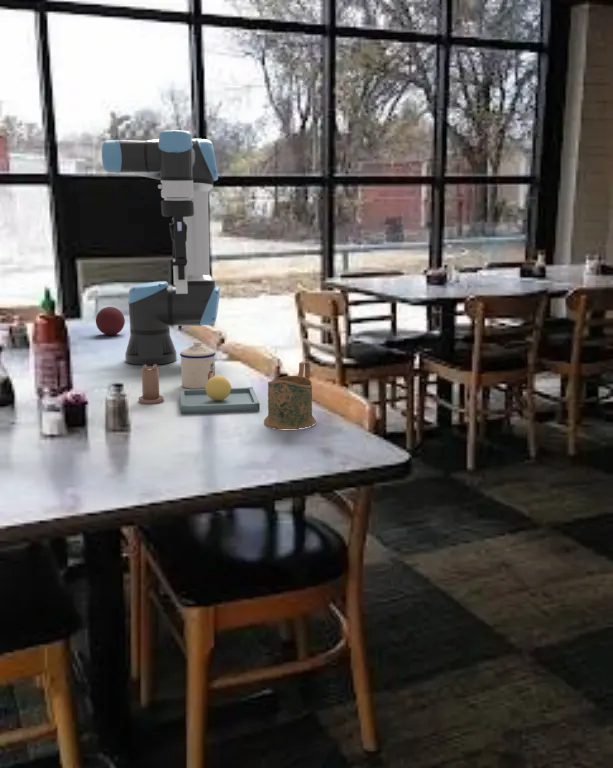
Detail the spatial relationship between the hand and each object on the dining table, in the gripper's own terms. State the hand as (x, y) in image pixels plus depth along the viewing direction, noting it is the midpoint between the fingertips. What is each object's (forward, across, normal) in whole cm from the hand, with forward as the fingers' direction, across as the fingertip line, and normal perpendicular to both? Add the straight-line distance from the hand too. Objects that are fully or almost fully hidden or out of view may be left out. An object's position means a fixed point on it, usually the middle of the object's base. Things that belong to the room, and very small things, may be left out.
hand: (180, 289), depth 193 cm
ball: (+22, +10, +8) cm, 26 cm away
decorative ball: (+29, -91, -22) cm, 98 cm away
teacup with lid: (+27, -10, +4) cm, 29 cm away
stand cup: (+26, +5, -8) cm, 28 cm away
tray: (+26, +11, +8) cm, 29 cm away
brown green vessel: (+26, +27, +23) cm, 44 cm away
